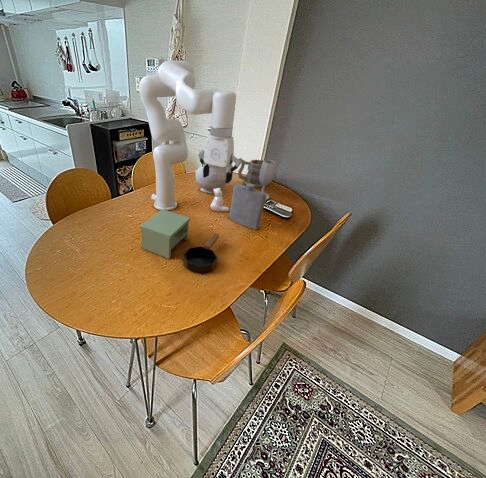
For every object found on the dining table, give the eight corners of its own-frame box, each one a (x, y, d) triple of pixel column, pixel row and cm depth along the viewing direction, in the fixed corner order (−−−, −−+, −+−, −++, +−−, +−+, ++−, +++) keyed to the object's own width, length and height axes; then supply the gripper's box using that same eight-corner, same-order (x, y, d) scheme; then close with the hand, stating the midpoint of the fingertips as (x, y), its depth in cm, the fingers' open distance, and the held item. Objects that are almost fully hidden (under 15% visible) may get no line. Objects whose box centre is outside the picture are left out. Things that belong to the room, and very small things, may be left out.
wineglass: (271, 196, 150) (279, 160, 138) (266, 202, 144) (275, 165, 132) (256, 193, 154) (263, 158, 142) (251, 198, 148) (258, 162, 136)
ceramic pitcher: (212, 182, 169) (213, 142, 156) (236, 189, 157) (240, 147, 144) (189, 191, 157) (188, 149, 144) (213, 199, 145) (215, 154, 132)
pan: (178, 266, 98) (179, 256, 95) (202, 239, 113) (203, 229, 111) (207, 277, 93) (208, 267, 90) (228, 247, 108) (230, 238, 106)
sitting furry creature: (229, 211, 134) (232, 190, 127) (215, 214, 131) (217, 193, 125) (220, 204, 141) (223, 183, 134) (206, 206, 139) (208, 185, 132)
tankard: (265, 181, 169) (271, 159, 160) (262, 188, 159) (268, 165, 151) (235, 176, 175) (239, 154, 167) (231, 183, 166) (234, 160, 157)
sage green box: (141, 248, 107) (139, 225, 101) (162, 230, 118) (161, 209, 112) (170, 259, 101) (170, 236, 95) (189, 239, 113) (190, 217, 106)
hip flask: (259, 227, 122) (269, 188, 110) (255, 231, 119) (264, 191, 108) (231, 216, 131) (237, 178, 119) (227, 218, 128) (232, 180, 117)
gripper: (194, 130, 91) (192, 177, 101) (239, 137, 82) (232, 187, 92) (205, 127, 96) (203, 172, 106) (249, 133, 87) (241, 181, 97)
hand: (216, 179), depth 99 cm, fingers open, 9 cm apart
